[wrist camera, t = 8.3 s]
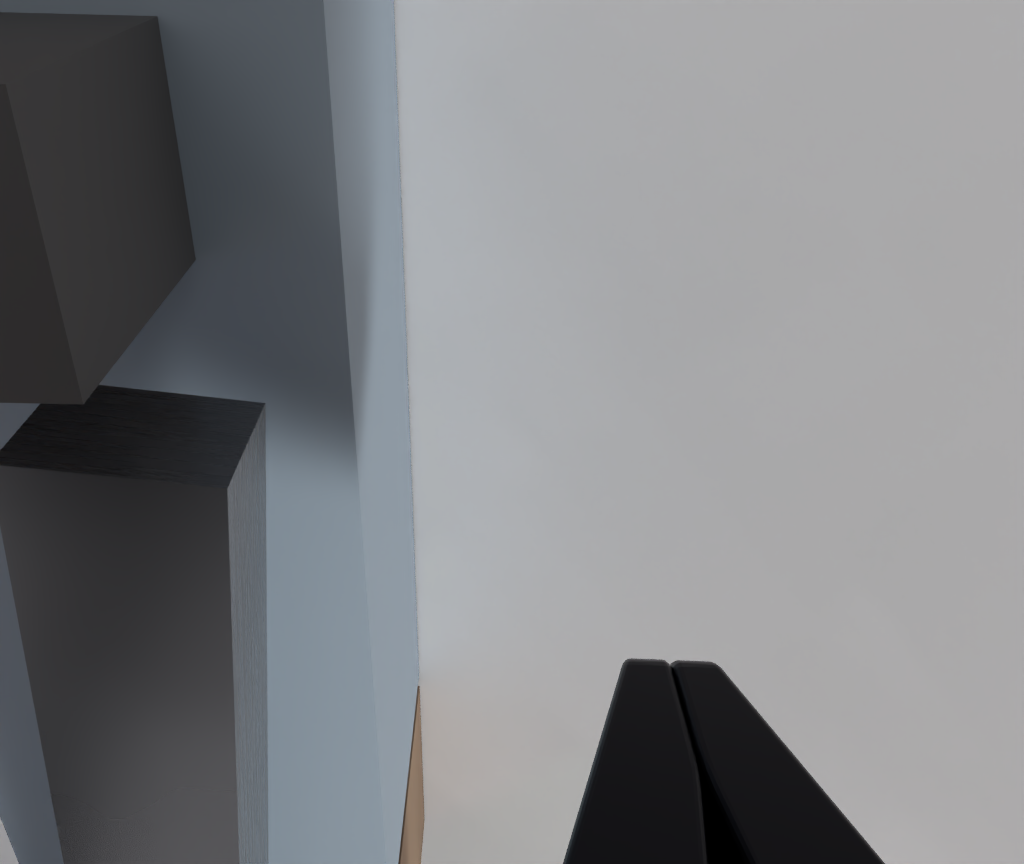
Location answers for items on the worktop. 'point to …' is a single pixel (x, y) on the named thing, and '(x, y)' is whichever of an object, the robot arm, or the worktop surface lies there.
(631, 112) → the worktop surface
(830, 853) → the robot arm
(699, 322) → the worktop surface
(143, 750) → the bar
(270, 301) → the blue-grey block
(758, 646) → the worktop surface
